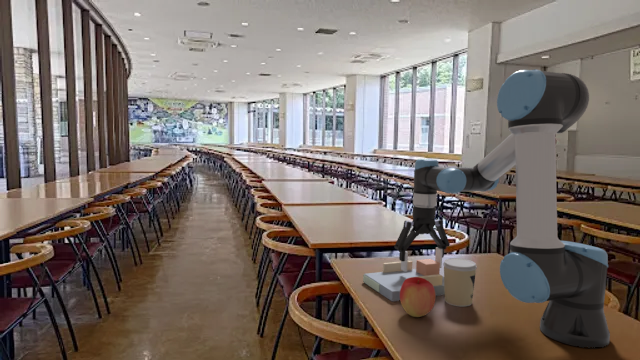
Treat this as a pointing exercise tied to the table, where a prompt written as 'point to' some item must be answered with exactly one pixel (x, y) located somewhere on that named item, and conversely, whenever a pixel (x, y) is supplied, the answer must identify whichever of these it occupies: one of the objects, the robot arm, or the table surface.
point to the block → (427, 267)
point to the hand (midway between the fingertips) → (421, 268)
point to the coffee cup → (459, 281)
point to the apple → (417, 296)
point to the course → (399, 280)
